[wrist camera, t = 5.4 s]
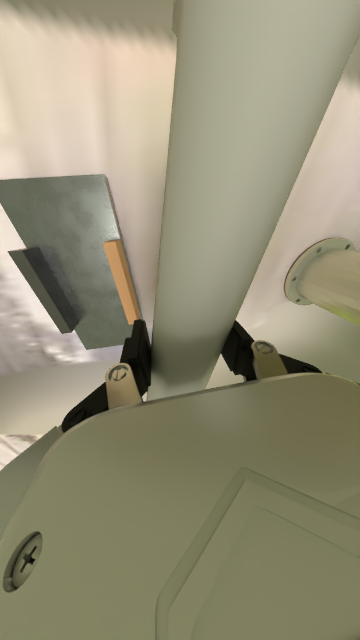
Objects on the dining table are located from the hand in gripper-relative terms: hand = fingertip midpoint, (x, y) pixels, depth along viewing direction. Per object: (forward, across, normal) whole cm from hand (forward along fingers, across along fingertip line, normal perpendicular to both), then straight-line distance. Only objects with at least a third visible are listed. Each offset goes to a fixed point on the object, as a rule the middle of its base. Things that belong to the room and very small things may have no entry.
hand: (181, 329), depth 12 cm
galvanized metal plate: (+16, +12, 0) cm, 20 cm away
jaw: (+14, +6, 0) cm, 16 cm away
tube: (+1, 0, 0) cm, 1 cm away
